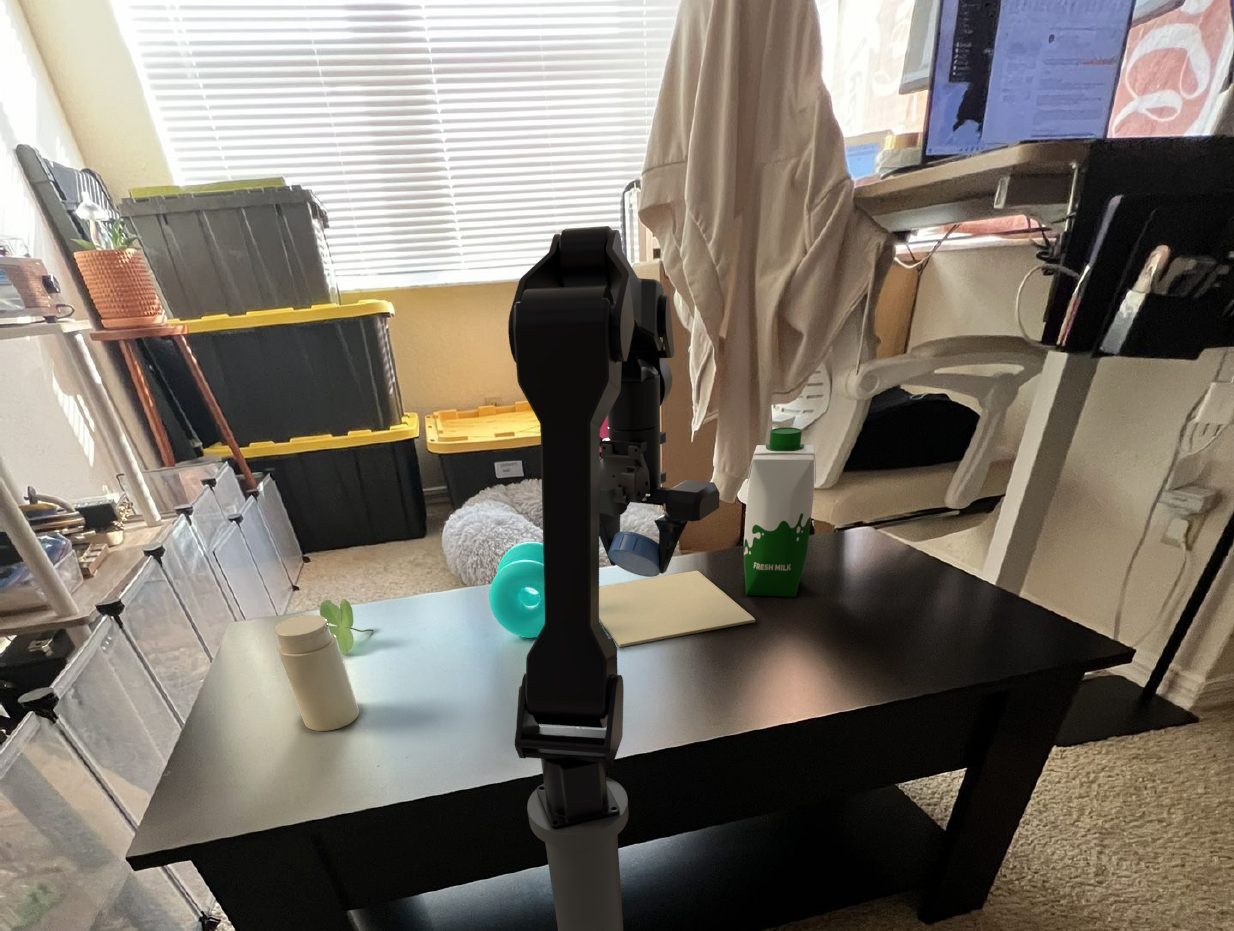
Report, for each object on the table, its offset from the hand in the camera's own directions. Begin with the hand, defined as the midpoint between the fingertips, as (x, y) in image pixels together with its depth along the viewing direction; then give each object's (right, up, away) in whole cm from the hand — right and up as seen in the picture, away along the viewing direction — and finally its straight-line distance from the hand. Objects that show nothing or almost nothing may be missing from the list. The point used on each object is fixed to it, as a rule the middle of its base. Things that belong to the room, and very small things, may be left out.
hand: (638, 568), depth 88 cm
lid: (0, +2, -1) cm, 2 cm away
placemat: (+4, -1, +13) cm, 13 cm away
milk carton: (+20, +3, +17) cm, 26 cm away
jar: (-35, -19, -7) cm, 40 cm away
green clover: (-38, -8, +8) cm, 39 cm away
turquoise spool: (-14, -4, +10) cm, 18 cm away
